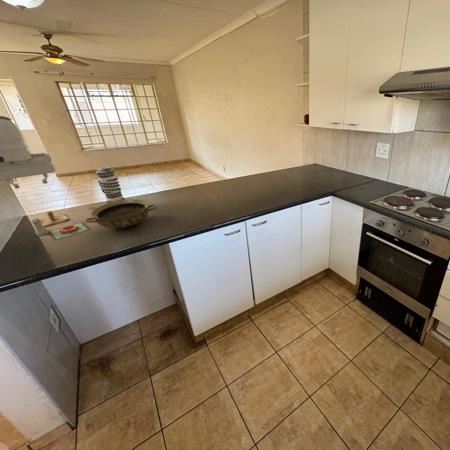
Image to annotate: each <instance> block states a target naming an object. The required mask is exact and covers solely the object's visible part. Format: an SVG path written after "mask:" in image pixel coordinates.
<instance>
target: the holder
mask: <svg viewBox="0 0 450 450" xmlns="http://www.w3.org/2000/svg"><path fill="white" fill-rule="evenodd" d="M46 214H47V216H48V217H47V218H43V219H40V220H41V221H40V222H41V224H42V226H43V227H44V228H47V227H50V226H53V225H57V224H58V225H59V224H61V223H65V222H68V221H69V218H68V217H67V216H65V215H64V214H58V215H54V213H53V211H50V210H49V211H46Z"/></svg>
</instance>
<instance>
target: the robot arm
mask: <svg viewBox="0 0 450 450" xmlns="http://www.w3.org/2000/svg"><path fill="white" fill-rule="evenodd" d="M56 171H57V170H56V167H55V166H54V164H53V162H52V157H51V155H50V154H48V153H44V152H39V153H31V151H30V149H29V148H28V145H26V143H25V142H24V137H23V134H22V132H21V131H20V129H19V127H18V126H17V124H16V122H14V120H13V119H12V118H10V117H8V116H4V115H0V182H1V181H7V183H9V184H10V185H12V186H13V188H14V189H16V190H17V189H20V185H19V183H15V182H13V179H19V178H20V179H21V178H27V177H28V178H29V177H34V176H41V175H42V176H43V179H41V182H42V184H44V185H46V184H49V182H48V181H47V180H48V176H49V175H48V174H54V173H55V172H56Z"/></svg>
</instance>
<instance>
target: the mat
mask: <svg viewBox="0 0 450 450" xmlns="http://www.w3.org/2000/svg"><path fill="white" fill-rule="evenodd" d="M74 225H77V226H78V228H79V229H78V230H76V231H74V232H72V233H67V234H61V233H60V231H59V230H60V229H61V228H58V229H55V230H52V231H50V234H51V235H52V236H53V237H54V238H55V239H56V240H60V239H63V238H66V237H70V236H72V235H77V234H80V233H83V232H86V231H88V230H89V229H88V228H87V227H86V226H85V225H83V223H81V222H79V223H74ZM71 229H72V228H71ZM67 230H69V229H67Z"/></svg>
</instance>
